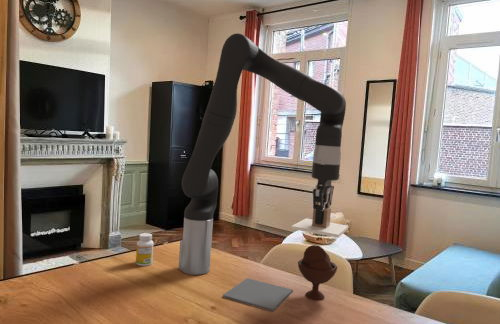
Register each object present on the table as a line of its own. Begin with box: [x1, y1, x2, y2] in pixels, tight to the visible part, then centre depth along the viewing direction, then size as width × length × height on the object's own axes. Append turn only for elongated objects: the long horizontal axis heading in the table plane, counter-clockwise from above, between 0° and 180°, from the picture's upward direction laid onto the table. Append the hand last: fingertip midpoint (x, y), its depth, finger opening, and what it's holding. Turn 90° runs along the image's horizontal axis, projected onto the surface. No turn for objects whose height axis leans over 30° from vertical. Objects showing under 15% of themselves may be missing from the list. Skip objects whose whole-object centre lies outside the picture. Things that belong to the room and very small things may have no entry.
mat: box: [222, 277, 294, 312], centre depth 105 cm, size 15×15×1 cm
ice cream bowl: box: [297, 244, 338, 302], centre depth 106 cm, size 11×11×15 cm
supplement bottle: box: [135, 232, 155, 267], centre depth 123 cm, size 5×5×10 cm
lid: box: [290, 207, 349, 238], centre depth 105 cm, size 13×13×6 cm
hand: (321, 222), depth 105 cm, fingers closed on lid, 4 cm apart
